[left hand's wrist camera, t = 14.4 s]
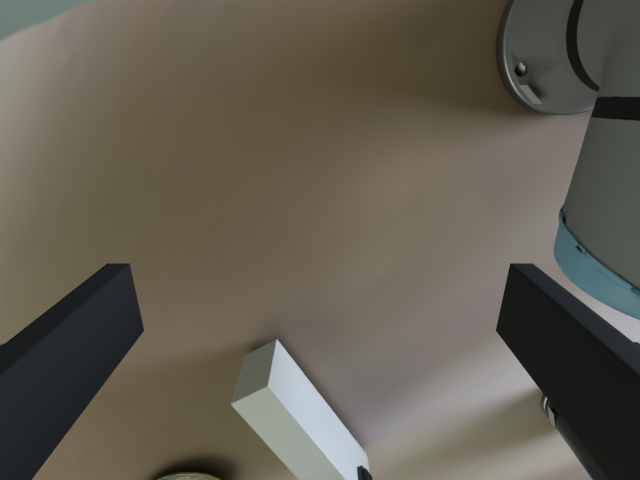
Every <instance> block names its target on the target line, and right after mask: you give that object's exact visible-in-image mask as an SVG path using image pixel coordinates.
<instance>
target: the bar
mask: <svg viewBox="0 0 640 480" xmlns="http://www.w3.org/2000/svg"><path fill="white" fill-rule="evenodd" d="M231 405H232V406H233V407H234V409H235V410H236V411H237V412H238V413H239V414H240V415H241V416H242V417H243V419H244V420H245V421H246V422H247V423H248V424H249V425H250V426H251V427H252V429H253V430H254V431H255V432H256V433H257V434H258V435H259V436H260V437H261V439H262V440H263V441H264V442H265V443H266V444H267V445H268V446H269V447H270V449H271V450H272V451H273V452H274V453H275V454H276V455H277V456H278V457H279V459H280V460H281V461H282V462H283V463H284V464H285V465H286V466H287V467H288V469H289V470H290V471H291V472H292V473H293V474H294V475H295V476H296V477H297V479H298V480H358V472H357V467H359V466H361V465H362V466H363V467H364V468H366V469H367V470H368V472H369V464H368V456H367V454H366V453H365V452H364V451H363V449H362V448H361V447H360V445H359V444H358V443H357V442H356V440H355V439H354V438H353V436H352V435H351V434H350V433H349V431H348V430H347V429H346V427H345V426H344V425H343V424H342V422H341V421H340V420H339V418H338V417H337V416H336V414H335V413H334V412H333V411H332V409H331V408H330V407H329V405H328V404H327V403H326V402H325V400H324V399H323V398H322V396H321V395H320V394H319V393H318V391H317V390H316V389H315V387H314V386H313V385H312V384H311V382H310V381H309V380H308V378H307V377H306V376H305V375H304V373H303V372H302V371H301V369H300V368H299V367H298V366H297V364H296V363H295V362H294V360H293V359H292V358H291V357H290V355H289V354H288V353H287V351H286V350H285V349H284V348H283V346H282V345H281V344H280V342H279V341H278V340H277V339H276V340H274V341H272V342H270V343H268V344H266V345H264V346H262V347H260V348H258V349H256V350H254V351H253V352H251V353H249V354H247V355H245V358H244V362H243V365H242V368H241V372H240V375H239V378H238V381H237V385H236V388H235V391H234V395H233V398H232V401H231ZM369 473H370V472H369Z"/></svg>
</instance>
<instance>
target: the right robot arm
mask: <svg viewBox="0 0 640 480" xmlns="http://www.w3.org/2000/svg"><path fill="white" fill-rule="evenodd" d="M542 409H543V411H544V413H545V414H546V416H547V417H548V418H549V420H550V422H551V424H552V425H553V426H554V428H555V427H556V429H557V430H558V431H559V433H560V434H561V436H562V437H563V439H564V440H565V441H566V443H567V444H568V446H569V447H570V448H571V450H572V451H573V453H574V454H575V455H576V457H577V458H578V460H579V461H580V462H581V464H582V465H583V467H584V468H585V469H586V471H587V472H588V474H589V475H590V476H591V478H592V479H593V480H608V478H607V477H606V476H605V474H604V473H603V472H602V470H601V469H600V468H599V466H598V465H597V464H596V462H595V461H594V460H593V458H592V457H591V456H590V455H589V453H588V452H587V451H586V449H585V448H584V447H583V445H582V444H581V443H580V441H579V440H578V439H577V437H576V436H575V435H574V433H573V432H572V431H571V429H570V428H569V427H568V425H567V424H566V423H565V421H564V420H563V419H562V417H561V416H560V415H559V413H558V412H557V411H556V409H555V408H554V407H553V405H552V404H551V403H550V401H549V400H548V399H547V398H546V396H545V395H544V396H543V398H542ZM357 472H358V480H372V476H371V474H370V473H369V472H368V470H367V469H366V468H364V467H363V466H362V465H361V466H359V467H357Z"/></svg>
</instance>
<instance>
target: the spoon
mask: <svg viewBox="0 0 640 480" xmlns="http://www.w3.org/2000/svg"><path fill="white" fill-rule="evenodd" d="M155 480H221V479H220V478H217V477H215V476H212V475H209V474H204V473H197V472H180V473H175V474H169V475H165V476H163V477H160V478H158V479H155Z"/></svg>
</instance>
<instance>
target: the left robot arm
mask: <svg viewBox="0 0 640 480" xmlns="http://www.w3.org/2000/svg"><path fill="white" fill-rule="evenodd" d="M496 57H497V65H498V70H499V73H500V76H501V79H502V81H503V83H504V85H505V87H506V89H507V90H508V91H509V93H510V94H511V95H512V96H513V98H514V99H515V100H517V101H518V102H519V103H520V104H522V105H523V106H525V107H527V108H529V109H531V110H533V111H536V112H540V113H545V114H556V115H571V114H578V113H583V112H586V111H589V110H592V109H593V112H592V115H591V116H592V117H590V120H589V124H588V127H587V131H586V134H585V137H584V141H583V144H582V148H581V151H580V154H579V158H578V161H577V164H576V167H575V171H574V174H573V177H572V180H571V183H570V187H569V190H568V193H567V196H566V199H565V203H564V205H563V206H562V208H561V209H560V212H559V228H558V232H557V236H556V240H555V244H554V256H555V259H556V261H557V263H558V265H559V266H560V268H561V269H562V272H563V273H564V274H565V275H566V276H567V277H568V279H569V280H570V281H572V282H573V283H574V284H575V285H576V286H578V287H579V288H580V289H581V290H583V291H584V292H586V293H587V294H589V295H590V296H592V297H593V298H595V299H597V300H598V301H600V302H602V303H604V304H606V305H608V306H609V307H611V308H613V309H615V310H617V311H620V312H622V313H624V314H626V315H628V316H631V317H633V318H636V319H638V320H640V0H509V2H508V4H507V6H506V9H505V11H504V13H503V16H502V19H501V22H500V26H499V30H498V35H497V44H496ZM143 331H144V328H143V323H142V319H141V314H140V309H139V305H138V300H137V296H136V291H135V286H134V282H133V277H132V272H131V268H130V264H106V265H105V266H104V267H102V268H101V269H100V270H99V271H97V272H96V273H95V274H93V275H92V276H91V277H90V278H88V279H87V280H86V281H84V282H83V283H82V284H81V285H79V286H78V287H77V288H76V289H74V290H73V291H72V292H70V293H69V294H68V295H67V296H65V297H64V298H63V299H61V300H60V301H59V302H58V303H56V304H55V305H54V306H53V307H51V308H50V309H49V310H47V311H46V312H45V313H44V314H42V315H41V316H40V317H38V318H37V319H36V320H35V321H33V322H32V323H31V324H30V325H28V326H27V327H26V328H24V329H23V330H22V331H21V332H19V333H18V334H17V335H15V336H14V337H13V338H12V339H10V340H9V341H8V342H7V343H5V344H2V345H0V480H32V478H33V477H34V476H35V474H36V473H37V472H38V470H39V469H40V468H41V466H42V465H43V464H44V462H45V461H46V460H47V458H48V457H49V456H50V455H51V453H52V452H53V451H54V449H55V448H56V447H57V445H58V444H59V443H60V441H61V440H62V439H63V437H64V436H65V435H66V433H67V432H68V431H69V429H70V428H71V427H72V425H73V424H74V423H75V421H76V420H77V419H78V417H79V416H80V415H81V413H82V412H83V411H84V409H85V408H86V407H87V405H88V404H89V403H90V401H91V400H92V399H93V398H94V396H95V395H96V394H97V392H98V391H99V390H100V388H101V387H102V386H103V384H104V383H105V382H106V380H107V379H108V378H109V376H110V375H111V374H112V372H113V371H114V370H115V368H116V367H117V366H118V364H119V363H120V362H121V360H122V359H123V358H124V356H125V355H126V354H127V352H128V351H129V350H130V348H131V347H132V346H133V344H134V343H135V342H136V340H137V339H138V338H139V337H140V335H141V334H142V333H143ZM496 331H497V333H498V334H499V335H500V337H501V338H502V339H503V340H504V342H505V343H506V344H507V346H508V347H509V348H510V350H511V351H512V352H513V354H514V355H515V356H516V358H517V359H518V360H519V362H520V363H521V364H522V366H523V367H524V368H525V370H526V371H527V372H528V374H529V375H530V376H531V378H532V379H533V380H534V382H535V383H536V384H537V386H538V387H539V388H540V390H541V391H542V392H543V394H544V395H545V396H546V398H547V399H548V400H549V401H550V403H551V404H552V405H553V407H554V408H555V409H556V411H557V412H558V413H559V415H560V416H561V417H562V419H563V420H564V421H565V423H566V424H567V425H568V427H569V428H570V429H571V431H572V432H573V433H574V435H575V436H576V437H577V439H578V440H579V441H580V443H581V444H582V445H583V447H584V448H585V449H586V451H587V452H588V453H589V455H590V456H591V457H592V458H593V460H594V461H595V462H596V464H597V465H598V466H599V468H600V469H601V470H602V472H603V473H604V474H605V476H606V477H607V478H608V480H640V344H639V343H637V342H632V341H631V340H630V339H628V338H627V337H626V336H625V335H623V334H622V333H621V332H619V331H618V330H617V329H616V328H614V327H613V326H612V325H610V324H609V323H608V322H607V321H605V320H604V319H603V318H602V317H600V316H599V315H598V314H596V313H595V312H594V311H593V310H591V309H590V308H589V307H587V306H586V305H585V304H584V303H582V302H581V301H580V300H579V299H577V298H576V297H575V296H573V295H572V294H571V293H570V292H568V291H567V290H566V289H564V288H563V287H562V286H561V285H559V284H558V283H557V282H556V281H554V280H553V279H552V278H550V277H549V276H548V275H547V274H545V273H544V272H543V271H541V270H540V269H539V268H538V267H536V266H535V265H534V264H510V268H509V272H508V277H507V282H506V286H505V291H504V296H503V300H502V305H501V309H500V314H499V319H498V323H497V328H496Z"/></svg>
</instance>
